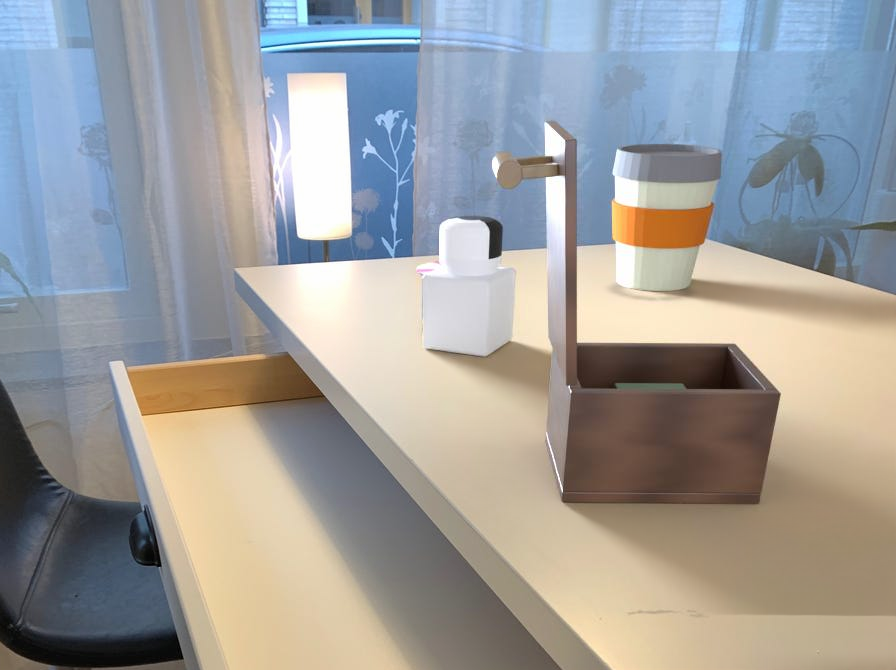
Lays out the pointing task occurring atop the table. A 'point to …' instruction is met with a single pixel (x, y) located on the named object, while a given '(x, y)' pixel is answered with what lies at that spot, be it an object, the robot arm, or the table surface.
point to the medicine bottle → (468, 290)
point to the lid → (554, 234)
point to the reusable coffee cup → (662, 212)
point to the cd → (428, 267)
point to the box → (661, 425)
